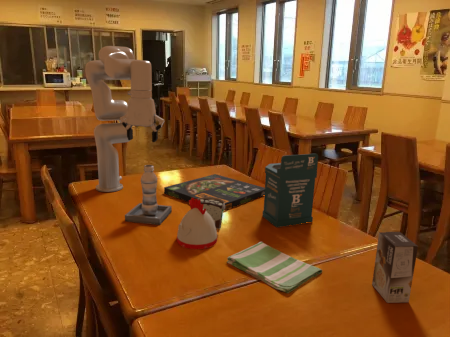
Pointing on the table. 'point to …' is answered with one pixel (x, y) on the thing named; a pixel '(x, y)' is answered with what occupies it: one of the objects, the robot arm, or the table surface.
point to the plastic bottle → (149, 191)
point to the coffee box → (394, 266)
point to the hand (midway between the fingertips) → (142, 140)
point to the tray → (156, 219)
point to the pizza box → (216, 190)
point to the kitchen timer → (197, 228)
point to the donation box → (290, 190)
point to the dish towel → (273, 267)
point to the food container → (214, 209)
